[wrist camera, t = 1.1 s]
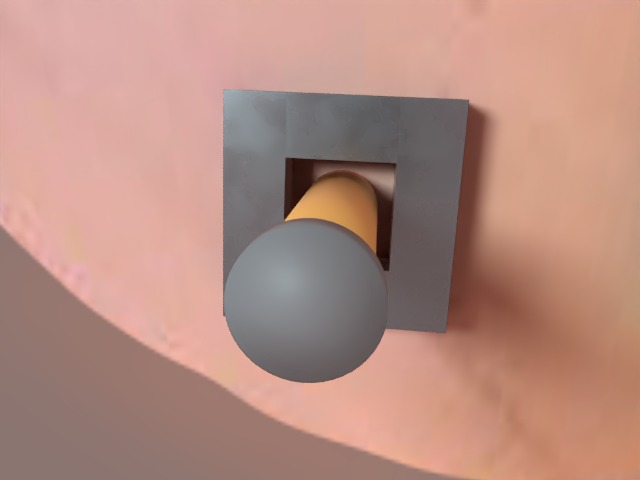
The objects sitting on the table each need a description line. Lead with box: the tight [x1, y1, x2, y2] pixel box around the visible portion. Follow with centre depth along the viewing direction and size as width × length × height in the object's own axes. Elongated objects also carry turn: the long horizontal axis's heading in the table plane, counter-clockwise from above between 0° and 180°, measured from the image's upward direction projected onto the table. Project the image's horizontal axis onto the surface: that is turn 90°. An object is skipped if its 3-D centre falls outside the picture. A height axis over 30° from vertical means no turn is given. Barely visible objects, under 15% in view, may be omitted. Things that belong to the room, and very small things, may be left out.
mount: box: [223, 89, 469, 333], centre depth 31 cm, size 12×12×2 cm
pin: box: [224, 170, 388, 383], centre depth 25 cm, size 5×5×16 cm
